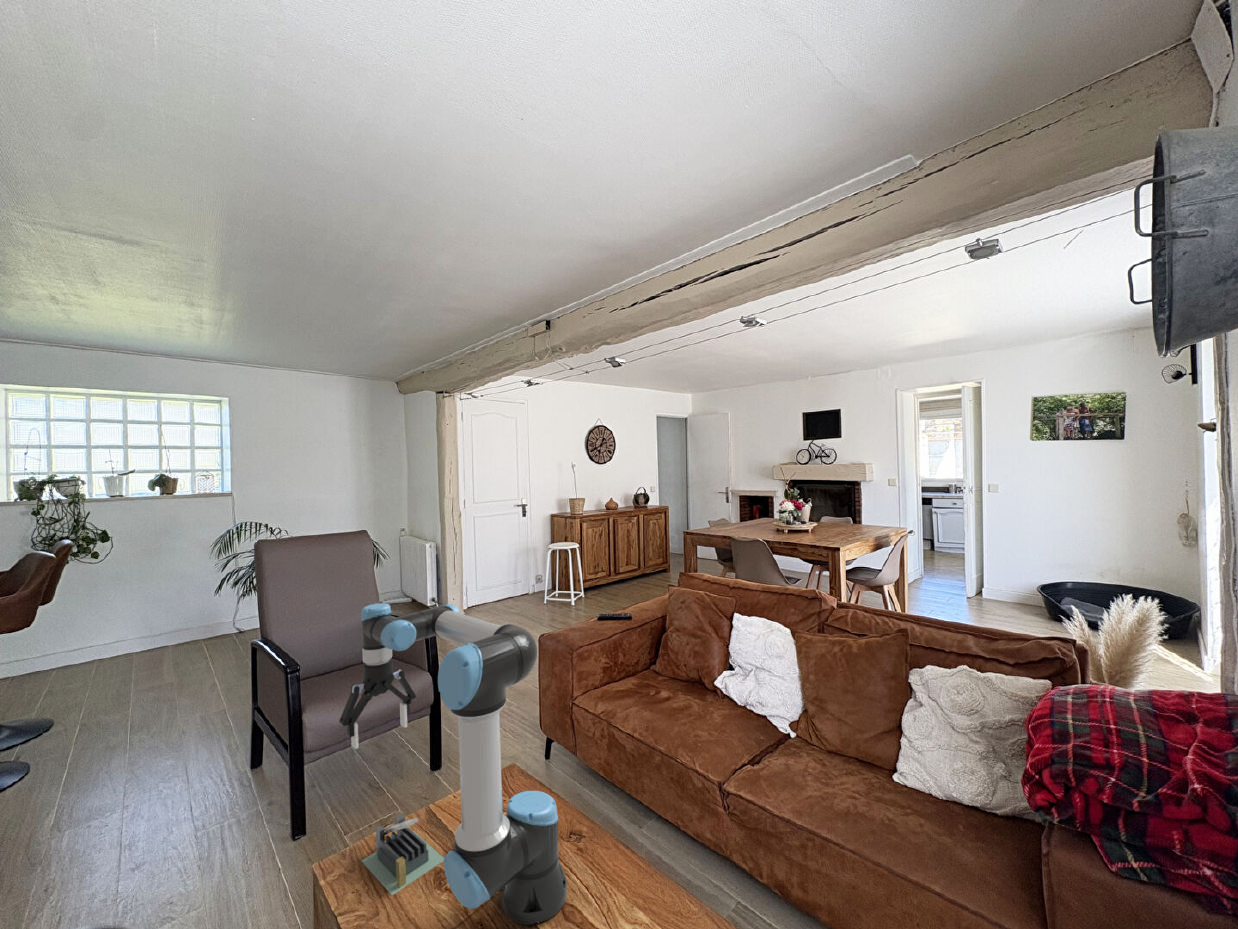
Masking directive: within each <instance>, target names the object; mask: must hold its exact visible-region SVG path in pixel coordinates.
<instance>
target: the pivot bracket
mask: <svg viewBox="0 0 1238 929" xmlns="http://www.w3.org/2000/svg"><path fill="white" fill-rule="evenodd" d="M404 821H406V816H404V815H403V814H402V813H399V814H397V815H396V822H397V823H401V822H404ZM384 829H385V828H384V827H383V826H382V825H378V826H376V827H375V846H376V847H375V848H376V851H375V852H377V855H378V848H380V844H379V840H381V839H383V840H384V841H385V842H386V837H385V836H386V835H385V832H384ZM401 830H402V831H403V832H404V829H401ZM396 834H397V833H396ZM397 835H398V834H397Z"/></svg>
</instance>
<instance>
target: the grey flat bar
mask: <svg viewBox="0 0 1238 929" xmlns="http://www.w3.org/2000/svg"><path fill="white" fill-rule="evenodd" d="M418 822H419V818H418V817H415V818H412V819H408V820H405V821H404V822H401V823H397V821H396V822H394V823H393V824H391V825H389V826H387V827H385V828H384V832H385V836H387V835H388V834H390V833H392V832H397V830H400V829H404V828H407V827H408V828H410V827H412V826H413V825H414V824H416V823H418Z"/></svg>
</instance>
